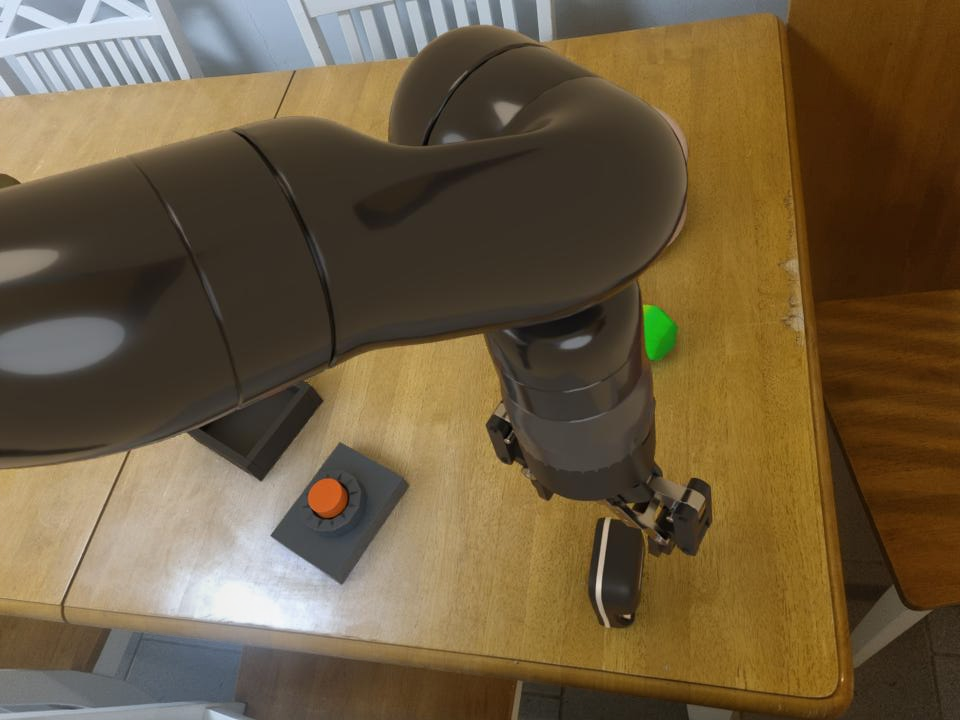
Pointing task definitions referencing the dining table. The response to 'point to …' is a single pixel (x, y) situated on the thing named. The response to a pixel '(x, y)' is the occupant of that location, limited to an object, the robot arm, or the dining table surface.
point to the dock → (260, 429)
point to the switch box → (342, 513)
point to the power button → (327, 498)
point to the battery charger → (616, 572)
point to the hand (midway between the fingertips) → (604, 515)
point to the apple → (658, 332)
